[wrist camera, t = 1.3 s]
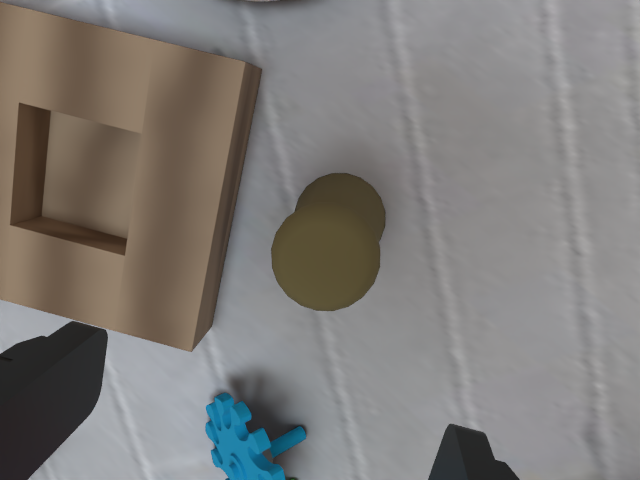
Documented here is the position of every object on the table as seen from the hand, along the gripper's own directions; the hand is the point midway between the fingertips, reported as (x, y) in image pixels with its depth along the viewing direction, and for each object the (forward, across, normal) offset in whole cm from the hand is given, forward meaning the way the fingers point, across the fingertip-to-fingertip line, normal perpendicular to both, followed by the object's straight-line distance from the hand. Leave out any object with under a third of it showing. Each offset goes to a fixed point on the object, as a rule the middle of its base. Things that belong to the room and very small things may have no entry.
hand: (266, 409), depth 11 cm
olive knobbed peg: (+22, 0, 0) cm, 22 cm away
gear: (+22, +2, +18) cm, 29 cm away
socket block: (+22, +16, +1) cm, 27 cm away
